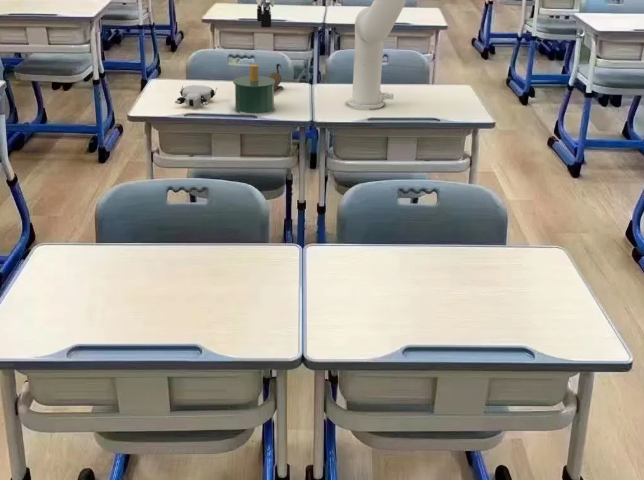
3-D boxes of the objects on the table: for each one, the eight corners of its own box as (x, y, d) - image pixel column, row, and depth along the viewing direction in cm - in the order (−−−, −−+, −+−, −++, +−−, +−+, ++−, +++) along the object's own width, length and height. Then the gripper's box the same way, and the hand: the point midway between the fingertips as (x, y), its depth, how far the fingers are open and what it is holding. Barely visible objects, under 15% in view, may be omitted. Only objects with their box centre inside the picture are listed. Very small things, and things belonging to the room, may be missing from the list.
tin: (270, 104, 279) (270, 77, 274) (276, 114, 268) (276, 87, 263) (233, 105, 277) (233, 78, 272) (237, 115, 266) (237, 88, 261)
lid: (271, 78, 275) (272, 60, 272) (278, 89, 263) (278, 70, 260) (231, 79, 273) (230, 60, 269) (235, 90, 261) (235, 70, 258)
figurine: (275, 84, 301) (275, 60, 297) (286, 86, 300) (287, 61, 295) (262, 94, 290) (262, 69, 285) (274, 95, 288) (274, 70, 284)
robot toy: (209, 113, 270) (218, 97, 283) (208, 99, 268) (217, 84, 280) (173, 111, 271) (183, 96, 284) (172, 97, 269) (182, 83, 281)
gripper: (279, -29, 249) (279, 29, 258) (271, -37, 264) (271, 19, 273) (255, -29, 248) (255, 29, 257) (248, -37, 263) (249, 19, 271)
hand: (264, 24), depth 265 cm, fingers open, 9 cm apart
